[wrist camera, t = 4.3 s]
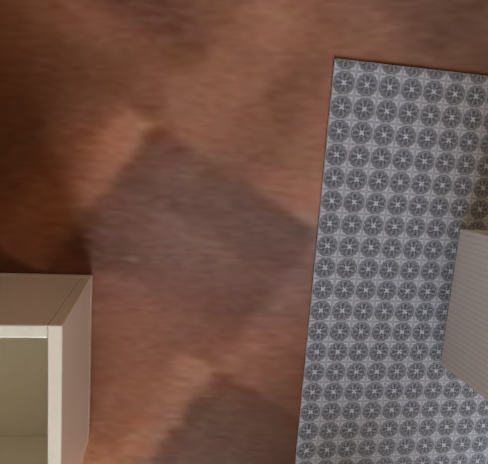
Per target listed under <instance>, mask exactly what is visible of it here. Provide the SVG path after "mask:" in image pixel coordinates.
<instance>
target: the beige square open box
mask: <svg viewBox="0 0 488 464" xmlns="http://www.w3.org/2000/svg"><path fill="white" fill-rule="evenodd" d="M92 283H93V276H92V275H68V274H29V273H0V464H82V461H83V458H84V454H85V450H86V447H87V443H88V439H89V436H90V389H91V336H92Z"/></svg>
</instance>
